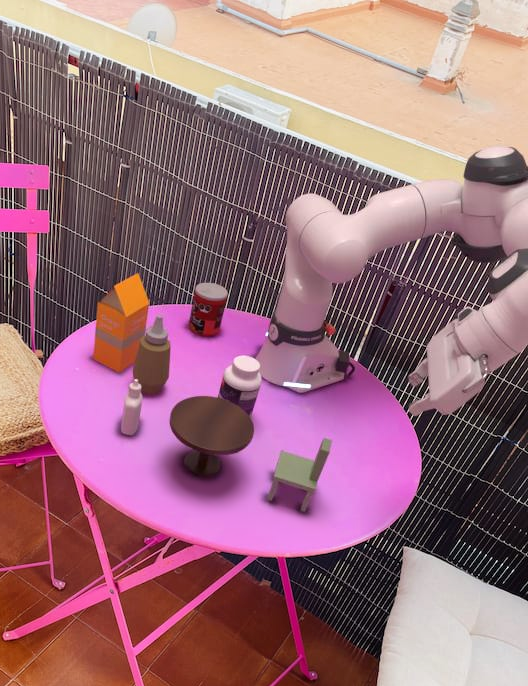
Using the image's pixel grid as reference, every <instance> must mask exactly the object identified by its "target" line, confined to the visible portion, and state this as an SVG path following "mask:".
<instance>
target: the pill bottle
mask: <svg viewBox="0 0 528 686" xmlns="http://www.w3.org/2000/svg"><path fill="white" fill-rule="evenodd" d="M259 368H260V364H259V362H258V361H257V360H256V359H255V358H254V357H252V356H248V355H238V356H236V357H234V358H233V360H232V364H231V365H228V366H227V367H226V368H225V370H224V372H223V374H222V378H221V383H220V387H219V390H218V394H217V398H221V399H224V400H227V401H229V402H232V403H234V404H235V405H237V406H239V407H240V408H241V409H243V410H244V411H245V412H246V413H247V414H248V415H249V417H250V418H251V419H252V415H253V412H254V409H255V405H256V403H257V399H258V394H259V393H260V390H261V386H262V381H263V377H261V375H260V373H259Z"/></svg>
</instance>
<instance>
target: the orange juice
mask: <svg viewBox="0 0 528 686" xmlns="http://www.w3.org/2000/svg"><path fill="white" fill-rule="evenodd" d="M149 306H150V300H149V297H148V296H147V291H146V290H145V287H144V285H143V282H142V279H141V276H140V274H139V272H137V273H135V274H134V275H131V276H129V277H128V278H126V279H124V280H122V281H121V282H119V283H117V284H115V285H113V288H111V290H109V291H108V292H107V293H106V295H104V296H103V297H102V299H100V300H99V301H98V302H97V310H96V321H95V331H94V346H93V357H92V359H93V360H95V361H96V362H98V363H100V364H102V365H104V366H105V367H108V368H109V369H111V370H113V371H115V372H117V373H121V372H122V371H124V370H125V369H127V368H128V367H130V366H131V365H134V363H135V359H136V355H137V351H138V347H139V343H140V340H141V338H142V337H143V336H145V335H146V330H147V321H148V314H149Z"/></svg>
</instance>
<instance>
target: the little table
mask: <svg viewBox="0 0 528 686" xmlns="http://www.w3.org/2000/svg"><path fill="white" fill-rule="evenodd" d="M169 427H170V430H171V432H172V434H173V435H174V437H175V438H176V439H177V440H178V441H179V442H180V443H182V444H183V445H185V446H186V447H188V448H189V449H191V450H194V451H191V452H189V453H188V454H186V456H185V458H184V467H185V469H186V470H187V471H188V472H189V473H190V474H191V475H193V476H195V477H199V478H211V477H214V476H215V475H217V474H218V472H219V470H220V468H221V466H220V461H219V459H218V458H217V457H216V456H228V455H234V454H237V453H240V452H242V451H243V450H244V449H246V448H247V447H248V446H249V445H250V444H251V442H252V440H253V437H254V433H255V426H254V422H253V420H252V417H251V418H250V417H249V415H248V414H247V413H246V412H245V411H244V410H243V409H241V408H240V407H239V406H237V405H235V404H234V403H232V402H229V401H227V400H224V399H221V398H218V396H217V397H216V396H212V395H211V396H210V395H195V396H190V397H187V398H184V399H182V400H179V402H177V403H176V404H175V405H174V406H173V408H172V409H171V411H170V416H169Z"/></svg>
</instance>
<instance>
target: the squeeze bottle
mask: <svg viewBox="0 0 528 686" xmlns="http://www.w3.org/2000/svg"><path fill="white" fill-rule="evenodd" d="M168 338H169V332H168V330H167V329H166V328H164V320H163V315H161V314H158V315H156V317H155V320H154V322H153V325H152V326H149V327H146V331H145V336H143V337H142V338H141V340H140V343H139V347H138V351H137V355H136V359H135V362H134V363H133V367H132V378H133V381H134V380H135V379H137V380H138V383H139V384H140V385H141V394H144V395H149V396H154V395H158V394H159V393H161V391H162V390H163V389H164V387H165V385H166V383H167V381H168V380H169V378H170V364H171V363H170V362H171V346H172V345H171V344H172V343H171V341H170V340H169V339H168Z"/></svg>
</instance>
